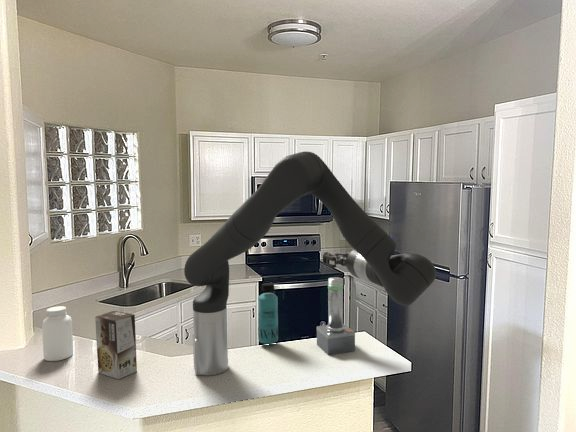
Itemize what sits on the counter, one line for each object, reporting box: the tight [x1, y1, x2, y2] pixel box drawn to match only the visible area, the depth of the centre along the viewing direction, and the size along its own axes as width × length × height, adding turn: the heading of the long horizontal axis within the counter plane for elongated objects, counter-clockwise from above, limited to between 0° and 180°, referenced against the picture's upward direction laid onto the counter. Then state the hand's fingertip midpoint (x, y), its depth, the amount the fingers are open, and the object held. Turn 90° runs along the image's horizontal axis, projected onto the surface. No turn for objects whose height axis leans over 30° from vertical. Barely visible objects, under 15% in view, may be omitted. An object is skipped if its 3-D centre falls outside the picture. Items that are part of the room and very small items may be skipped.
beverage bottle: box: [257, 282, 279, 345], centre depth 134 cm, size 6×7×20 cm
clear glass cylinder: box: [326, 276, 346, 332], centre depth 130 cm, size 6×6×16 cm
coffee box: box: [94, 310, 138, 380], centre depth 115 cm, size 9×6×16 cm
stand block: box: [316, 323, 356, 356], centre depth 131 cm, size 9×9×6 cm
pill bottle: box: [41, 305, 74, 362], centre depth 127 cm, size 8×8×15 cm
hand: (339, 254), depth 114 cm, fingers open, 8 cm apart
